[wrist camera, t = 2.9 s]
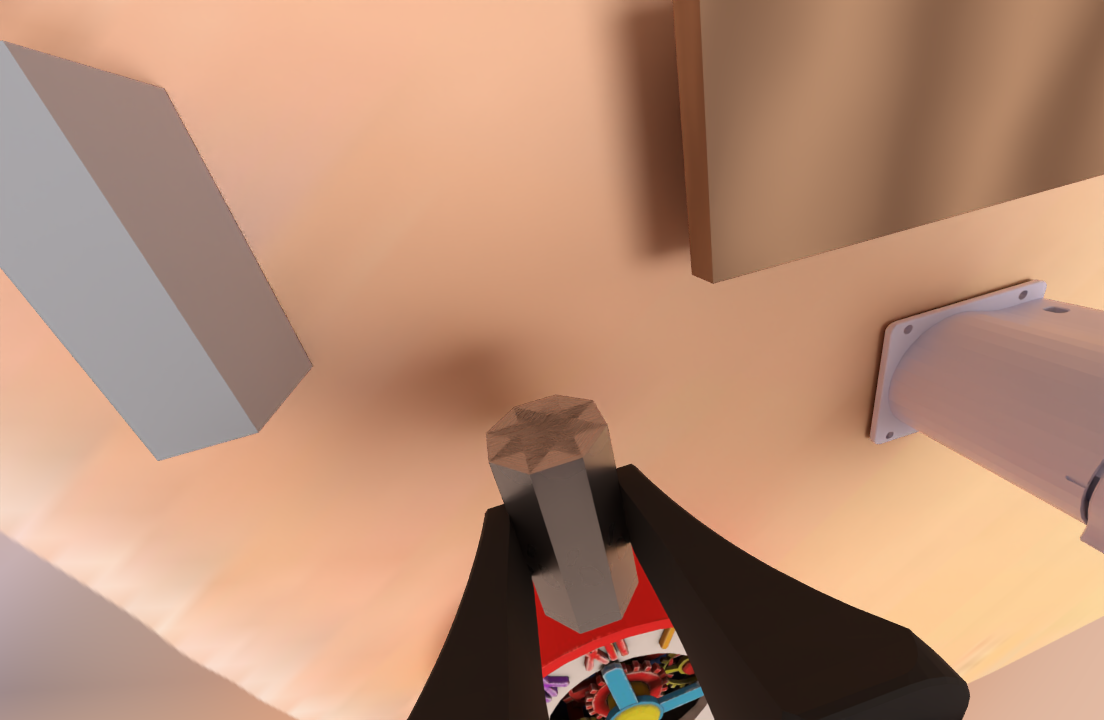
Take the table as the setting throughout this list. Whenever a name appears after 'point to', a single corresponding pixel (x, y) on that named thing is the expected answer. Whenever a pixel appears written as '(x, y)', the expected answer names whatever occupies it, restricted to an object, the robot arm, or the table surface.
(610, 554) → the roller
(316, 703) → the table surface
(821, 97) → the slab
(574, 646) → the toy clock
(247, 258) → the block
